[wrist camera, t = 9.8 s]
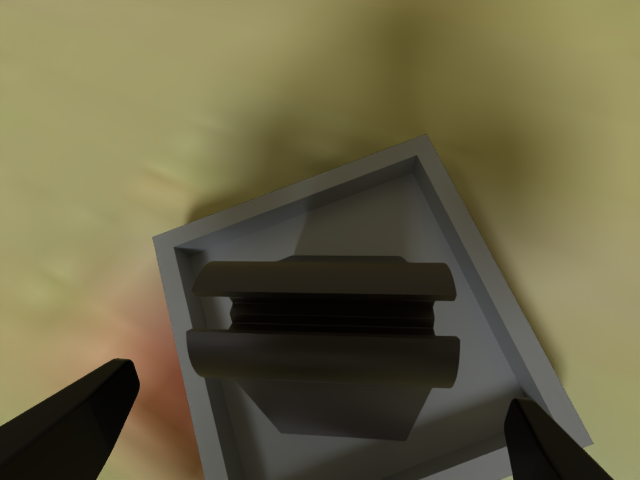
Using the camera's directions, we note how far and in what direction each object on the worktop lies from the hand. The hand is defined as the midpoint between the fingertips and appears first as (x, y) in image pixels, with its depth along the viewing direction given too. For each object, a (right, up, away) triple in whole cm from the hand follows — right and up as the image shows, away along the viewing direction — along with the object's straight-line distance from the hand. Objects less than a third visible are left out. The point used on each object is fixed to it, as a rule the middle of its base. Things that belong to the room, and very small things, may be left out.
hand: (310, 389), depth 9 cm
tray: (+2, -2, +12) cm, 12 cm away
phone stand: (+2, -2, +11) cm, 11 cm away
